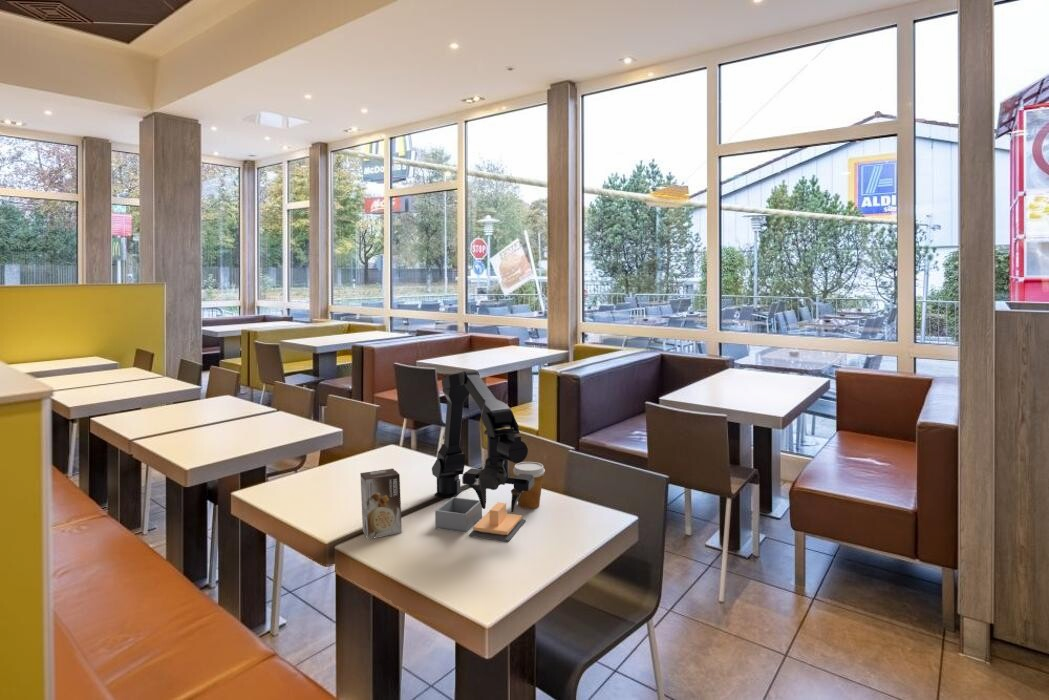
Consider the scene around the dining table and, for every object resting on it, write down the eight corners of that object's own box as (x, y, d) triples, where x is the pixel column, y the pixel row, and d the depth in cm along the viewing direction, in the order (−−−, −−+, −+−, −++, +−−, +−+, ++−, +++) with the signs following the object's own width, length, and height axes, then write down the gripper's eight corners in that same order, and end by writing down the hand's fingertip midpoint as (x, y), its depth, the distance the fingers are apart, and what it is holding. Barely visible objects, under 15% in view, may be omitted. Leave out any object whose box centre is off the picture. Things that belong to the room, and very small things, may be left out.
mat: (469, 536, 155) (469, 534, 155) (488, 516, 168) (488, 514, 168) (508, 541, 152) (508, 539, 152) (525, 521, 165) (525, 519, 165)
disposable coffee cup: (545, 500, 181) (546, 461, 180) (543, 511, 172) (543, 471, 171) (514, 498, 182) (514, 460, 181) (511, 510, 173) (511, 470, 172)
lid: (473, 532, 156) (473, 512, 155) (489, 516, 167) (489, 497, 166) (507, 537, 153) (507, 516, 152) (521, 520, 164) (521, 501, 163)
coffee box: (395, 524, 162) (394, 467, 161) (402, 533, 157) (401, 474, 155) (361, 530, 158) (360, 472, 157) (367, 540, 153) (365, 479, 151)
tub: (435, 528, 160) (435, 510, 159) (452, 513, 170) (452, 496, 170) (466, 533, 157) (466, 514, 156) (482, 517, 167) (481, 500, 167)
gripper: (453, 458, 153) (453, 516, 155) (521, 465, 147) (521, 526, 149) (470, 447, 164) (470, 502, 165) (535, 453, 158) (534, 510, 159)
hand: (498, 510), depth 159 cm, fingers open, 8 cm apart
